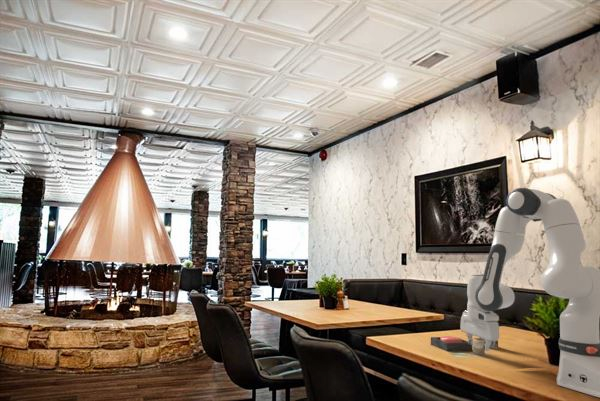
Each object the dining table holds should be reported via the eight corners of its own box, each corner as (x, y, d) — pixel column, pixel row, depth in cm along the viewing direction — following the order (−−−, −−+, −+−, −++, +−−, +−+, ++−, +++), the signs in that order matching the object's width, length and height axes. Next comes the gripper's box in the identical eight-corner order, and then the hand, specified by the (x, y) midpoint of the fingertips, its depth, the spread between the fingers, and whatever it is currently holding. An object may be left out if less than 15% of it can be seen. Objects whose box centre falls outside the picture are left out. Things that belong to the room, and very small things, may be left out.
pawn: (486, 355, 170) (486, 340, 170) (476, 355, 169) (476, 340, 170) (480, 352, 174) (480, 338, 175) (471, 353, 173) (470, 338, 174)
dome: (466, 349, 179) (466, 340, 180) (448, 350, 177) (448, 340, 178) (453, 345, 188) (453, 336, 188) (436, 345, 186) (436, 336, 186)
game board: (495, 360, 167) (495, 349, 167) (461, 361, 163) (461, 349, 163) (458, 346, 190) (458, 336, 191) (427, 347, 186) (427, 337, 187)
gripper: (456, 309, 183) (456, 341, 182) (488, 317, 163) (488, 353, 162) (469, 309, 185) (469, 341, 183) (502, 317, 165) (502, 353, 163)
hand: (478, 347), depth 172 cm, fingers open, 8 cm apart
